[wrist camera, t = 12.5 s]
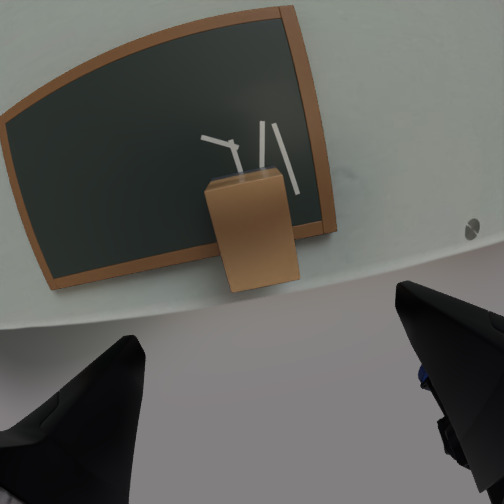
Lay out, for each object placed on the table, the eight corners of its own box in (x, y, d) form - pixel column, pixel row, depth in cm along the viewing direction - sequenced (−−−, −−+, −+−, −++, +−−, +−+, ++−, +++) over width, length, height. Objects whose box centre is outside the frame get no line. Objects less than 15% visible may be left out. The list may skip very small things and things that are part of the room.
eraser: (290, 251, 20) (300, 279, 16) (233, 262, 20) (231, 293, 17) (274, 164, 18) (283, 174, 14) (211, 178, 18) (203, 191, 14)
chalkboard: (333, 226, 21) (337, 231, 20) (56, 285, 22) (50, 291, 21) (291, 10, 14) (293, 4, 13) (3, 117, 15) (-4, 118, 14)
